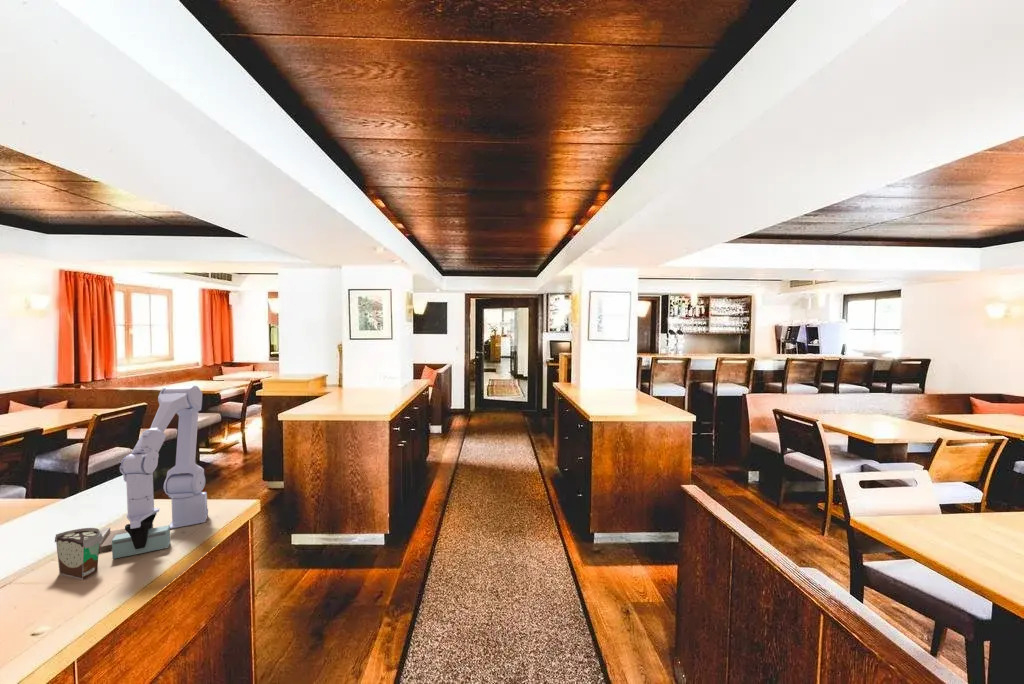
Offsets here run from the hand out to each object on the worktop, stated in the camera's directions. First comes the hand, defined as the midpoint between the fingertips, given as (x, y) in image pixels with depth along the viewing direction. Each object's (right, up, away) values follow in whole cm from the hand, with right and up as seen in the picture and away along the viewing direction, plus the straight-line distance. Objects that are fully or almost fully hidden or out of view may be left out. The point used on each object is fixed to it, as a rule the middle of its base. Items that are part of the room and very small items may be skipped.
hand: (142, 544), depth 126 cm
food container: (-6, -2, -10) cm, 12 cm away
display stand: (-12, -2, +7) cm, 14 cm away
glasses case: (0, -2, 0) cm, 2 cm away
